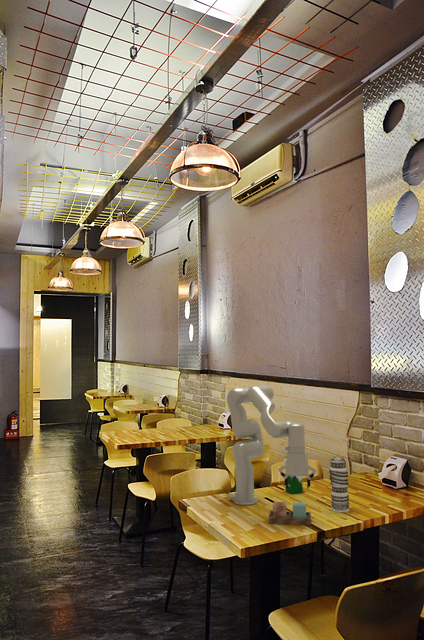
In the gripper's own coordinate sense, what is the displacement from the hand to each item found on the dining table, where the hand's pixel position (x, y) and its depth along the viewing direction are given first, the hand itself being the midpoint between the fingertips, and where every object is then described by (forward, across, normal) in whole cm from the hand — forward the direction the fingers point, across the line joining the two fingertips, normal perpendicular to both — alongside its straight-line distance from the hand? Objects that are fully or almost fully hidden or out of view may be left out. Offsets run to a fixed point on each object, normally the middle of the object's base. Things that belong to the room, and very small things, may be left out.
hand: (297, 487), depth 217 cm
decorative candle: (+15, +20, +18) cm, 31 cm away
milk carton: (+16, -3, +47) cm, 50 cm away
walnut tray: (+15, -4, -1) cm, 16 cm away
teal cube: (+14, +1, -1) cm, 14 cm away
